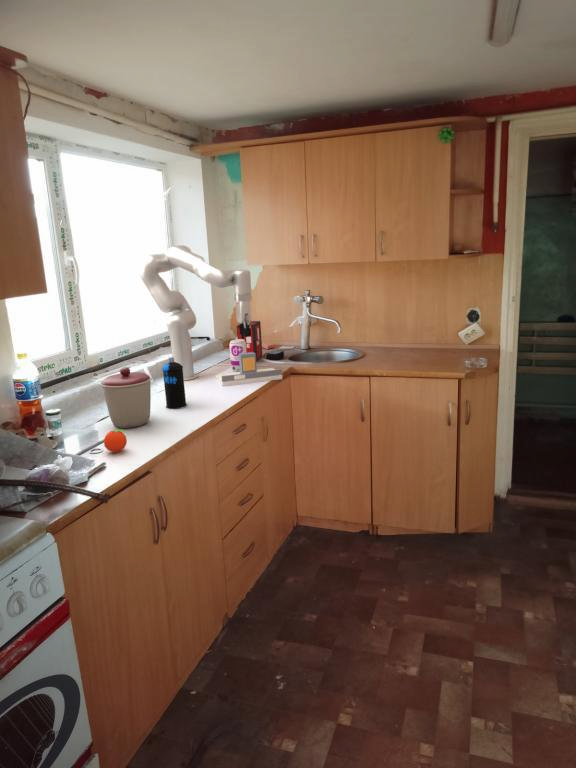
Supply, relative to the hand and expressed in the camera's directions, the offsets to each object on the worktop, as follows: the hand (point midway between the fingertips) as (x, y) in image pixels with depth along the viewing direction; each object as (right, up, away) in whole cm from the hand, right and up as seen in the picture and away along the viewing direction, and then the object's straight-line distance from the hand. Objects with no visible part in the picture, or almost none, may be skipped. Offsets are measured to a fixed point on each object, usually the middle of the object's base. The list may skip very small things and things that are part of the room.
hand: (245, 335), depth 261 cm
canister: (-37, -37, -54) cm, 75 cm away
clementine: (-34, -44, -81) cm, 98 cm away
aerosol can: (-25, -31, -34) cm, 53 cm away
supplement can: (-5, -16, +25) cm, 29 cm away
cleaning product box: (0, -10, +47) cm, 48 cm away
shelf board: (+1, -20, +5) cm, 21 cm away
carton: (+1, -18, +5) cm, 19 cm away
